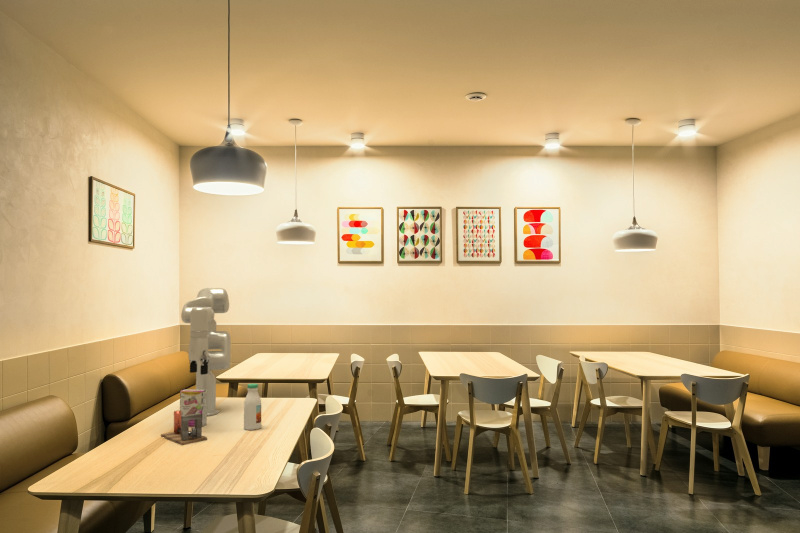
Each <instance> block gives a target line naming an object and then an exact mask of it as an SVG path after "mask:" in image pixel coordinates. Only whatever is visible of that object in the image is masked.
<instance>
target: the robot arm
mask: <svg viewBox="0 0 800 533" xmlns="http://www.w3.org/2000/svg"><path fill="white" fill-rule="evenodd" d="M229 309H230V300H229V294H228V292H227V290H226V289H225V288H220V287H215V288H213V287H211V288H210V287H207V288H202V289H201V290H199V291H198V293H197V296H196V298H194V299H191V300H189V301H187V302H185V304H184V305H183V306H182V309H181V314H180V316H181V317H180V318H181V320H182V322H183V323H184V324H190V327H189V330H190V332H189V344H188V354H187V357H188V362H189V363H188V364H189V373H191V374H193V373H194V374H195V379H196V381H195V390H207V417H208V416H214V415H217V414H219V412H220V411H219V409H216V408H217V404H216V402H217V400H216V399H217V395H216V394H217V393H216V391H217V378H216V376H215V374H214V373H213V372H212V371H217V370H220V371H221V370H227V369H229V368H230V367H231V359H232V358H231V357H232V356H231V354H232V353H231V352H232V340H231V339H232V338H231V334H230V332H229V331H227V330H217V321H216V319H215V314H225V313H227V312H228V311H229Z"/></svg>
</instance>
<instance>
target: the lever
mask: <svg viewBox="0 0 800 533" xmlns="http://www.w3.org/2000/svg"><path fill="white" fill-rule="evenodd" d="M189 431H191V432H189ZM189 431H188V436H189V437H192V438H195V436H196V428H195V427H192V428H191V430H189ZM173 432H174V433H181V411H180V410H174V412H173Z"/></svg>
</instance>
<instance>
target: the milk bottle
mask: <svg viewBox="0 0 800 533" xmlns="http://www.w3.org/2000/svg"><path fill="white" fill-rule="evenodd" d="M258 388H259V384H258V383H248V384H247V394H246V396H245V399H244V402H243V429H244V430H246V431H255V430H254V429H256V430H259V428H260V429H261V428H262V399H261V396H260V394H259V392H258Z"/></svg>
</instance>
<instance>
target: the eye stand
mask: <svg viewBox="0 0 800 533" xmlns="http://www.w3.org/2000/svg"><path fill="white" fill-rule="evenodd" d="M189 420H195V427H194V428H196V436H195V438H192V437H189V436H188V431H189V432H191V430H189V427H190V426H189ZM202 429H203V427H202V414H201V413H197V414H191V415H185V416H181V433H174V431H171V432H164V433H161V434H160V437H161V438H163V437H164V439H166V440H168V441H171V442H173V443H174V444H175V443H176V444H177V445H180V446H184V445H189V444H193V443H199V442H203V441H208V436H205V435H202V433H203V430H202Z"/></svg>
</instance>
